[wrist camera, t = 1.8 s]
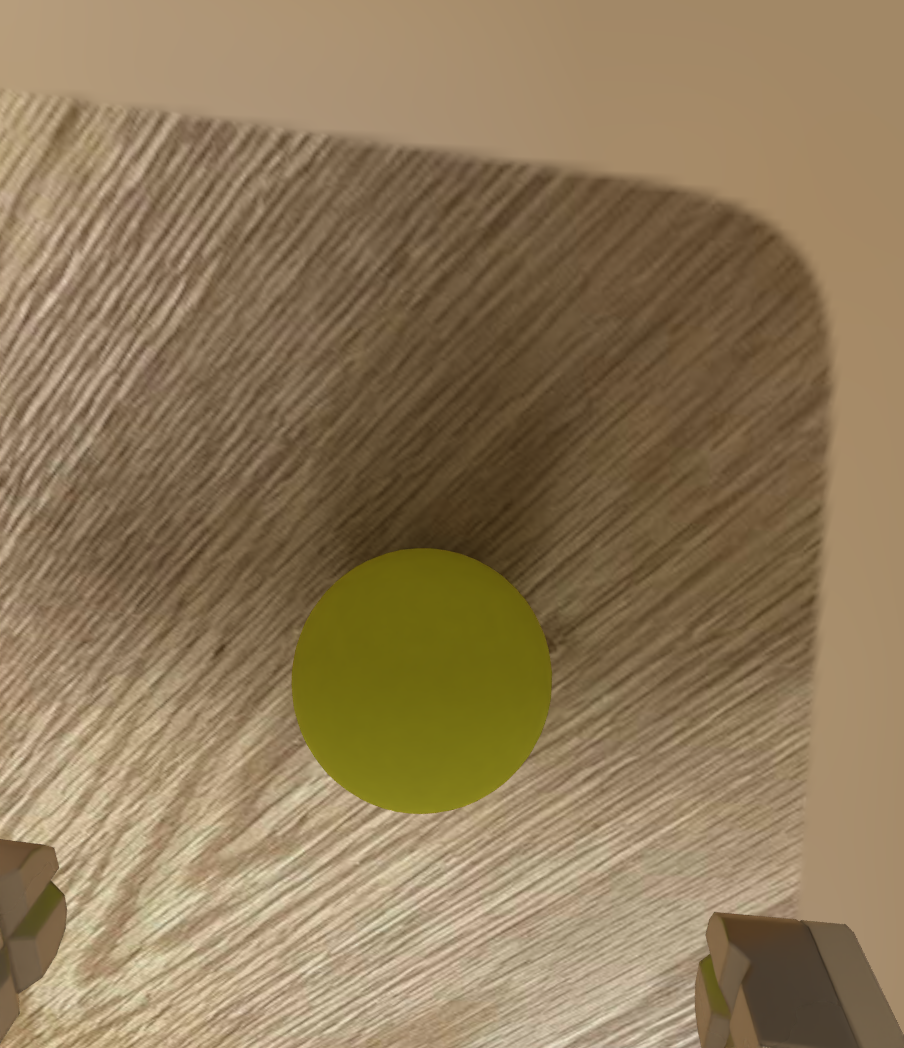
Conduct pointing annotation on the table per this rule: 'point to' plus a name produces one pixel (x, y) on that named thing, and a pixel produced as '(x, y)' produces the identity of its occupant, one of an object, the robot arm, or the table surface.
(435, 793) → the ball
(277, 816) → the table surface
